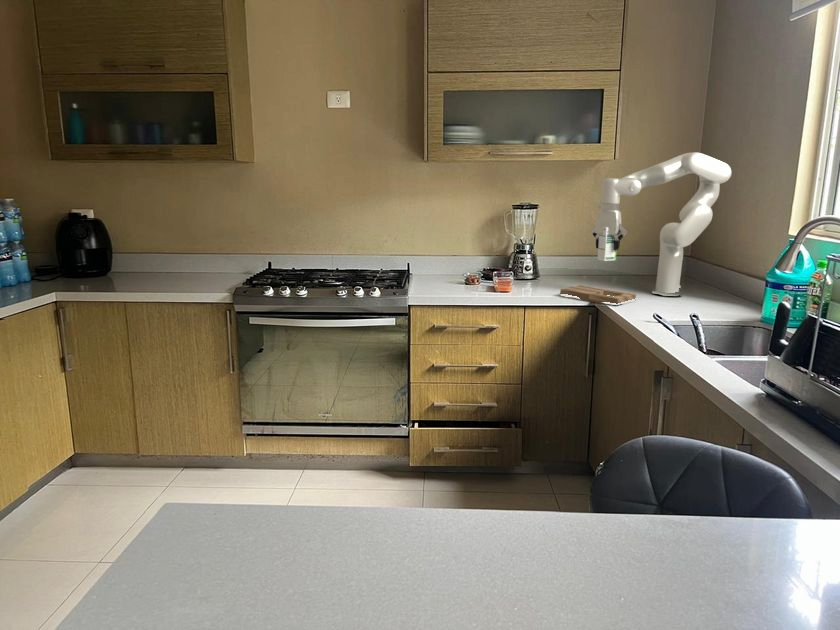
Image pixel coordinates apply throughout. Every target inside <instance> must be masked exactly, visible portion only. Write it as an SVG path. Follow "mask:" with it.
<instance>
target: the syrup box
mask: <svg viewBox="0 0 840 630" xmlns="http://www.w3.org/2000/svg"><path fill="white" fill-rule="evenodd" d="M608 231H609V228H607V227H605V228H604V234H600V235H599V243H598V248H597V260H599V261H603V262H613V261H614V262H615V261H616V260H617V251H618V250H614V241H615V240H616V239H615V237H614V235H609V234H608Z"/></svg>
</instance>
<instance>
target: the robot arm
mask: <svg viewBox="0 0 840 630" xmlns="http://www.w3.org/2000/svg"><path fill="white" fill-rule="evenodd" d="M731 168H732V167H731V166H730V165H729V164H728V163H726V162H725V161H724V162H723V161H721V160H720V159H716V158H714V157H712V156H710V155H707V154H704V153H701V152H697V151H696V152H686V153H683V154H680V155H677V156H675V157H673V158H670V159H668V160H666V161H665V160H664V161H663V162H660V163H658V164H654V165H652V166H650V167H647V168H644V169H641V170H638V171H636V172H633V173H630V174H628V175H626V176H624V177H620V178H618V177H617V178H616V177H615V178H614V177H607V178H604V179H603V180H602V186H601V200H600V201H601V202H600V204H598V205H597V207H598V208H599V209H600V210H598V212H597V216H596V222H595V225H594V226H593V227H591V228H590V232H591V233H592V235H593V237H594V239H595V248H596V249H598V243H599V235H600V234H604V228H605V227H607V228H609V231H608V234H609V235H614V237H615V239H616V240H615V241H614V250H617V251H618V250H620V247H621V241H622V239H623V238H624V237H625V236H626V234H628V230H627V229H625V228H624V227H623V226H622V212H621V211H620V205H621V204H620V202H621V201H620V200H621V196H626V197H627V196H628V197H629V196H630V197H633V196H636V195H638V194H639V193H640V192H641V190H642V189H643V188H647V187H652V186H658V185H662V184H667V183H669V182H671V181H673V180H676V179H679V178H681V177H684V176H686V175H689V174H694V175H697V176H698V177H699V178H698V179H699V187H698V189H697V191H696V193H695V194H694V195H693V196H692V197H691V199H690V200H689V201H687V203H686V204H685V205H684V206H683V207H682V209H681V210H680V212H679V214H678V215H679V220H680V222H668V223H666V224H665V225H663V227H662V228H661V230H660V233H659V243H660V244H659V257H658V266H657V272H656V273H657V274H656V275H657V276H656V281H655V282H656V283H655V290H656V291H658V292H665V293H675V292H680V289H681V286H682V285H680V283H681V277H682V267H683V259H684V248H685V247H688V246H690V245H691V244H692V243H694V242H695V241H696V239H697V238H698V237H699V236H700V235H701V234H702V233H703V232H704V231H705V229H707V227H708V226H709V225H710V223H711V222H712V219H713V209H712V207H713V205H714V204H715V202H717V200H718V198H719V196H720V185H721V184H723V183H724V184H725V183H726V182H728V181H729V179H730V178H731V177H732V169H731ZM679 288H680V289H679Z"/></svg>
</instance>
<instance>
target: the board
mask: <svg viewBox="0 0 840 630" xmlns="http://www.w3.org/2000/svg"><path fill="white" fill-rule="evenodd" d="M560 294H568V295H572V296H577V297H579V298H580V299H581V300H580V301H583V302H591V303H596V304H600V305H602V304H601V302H610V303H616V304H618V303H621V302H625V301H628V300H632V299H635V298H636V297H637V293H636V294H635V293H630V292H624V291H618V290H611V289H610V290H609V289H605V288H599V287H593V286H586V285H581V284H579V285H575V286H570V287H566V288H561V289H560V293H559V295H560ZM607 295H610V296H607ZM613 296H614V297H613ZM635 300H636V299H635Z"/></svg>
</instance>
